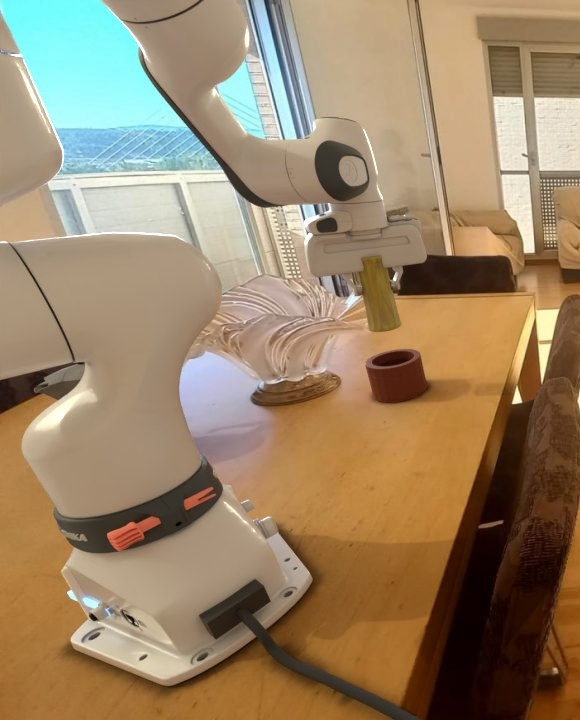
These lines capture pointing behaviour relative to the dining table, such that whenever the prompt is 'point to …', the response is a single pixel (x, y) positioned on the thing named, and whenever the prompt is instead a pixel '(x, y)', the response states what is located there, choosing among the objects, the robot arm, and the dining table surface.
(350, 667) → the dining table surface
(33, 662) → the dining table surface
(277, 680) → the dining table surface
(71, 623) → the dining table surface
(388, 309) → the bamboo tube section
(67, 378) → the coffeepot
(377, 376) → the jar
